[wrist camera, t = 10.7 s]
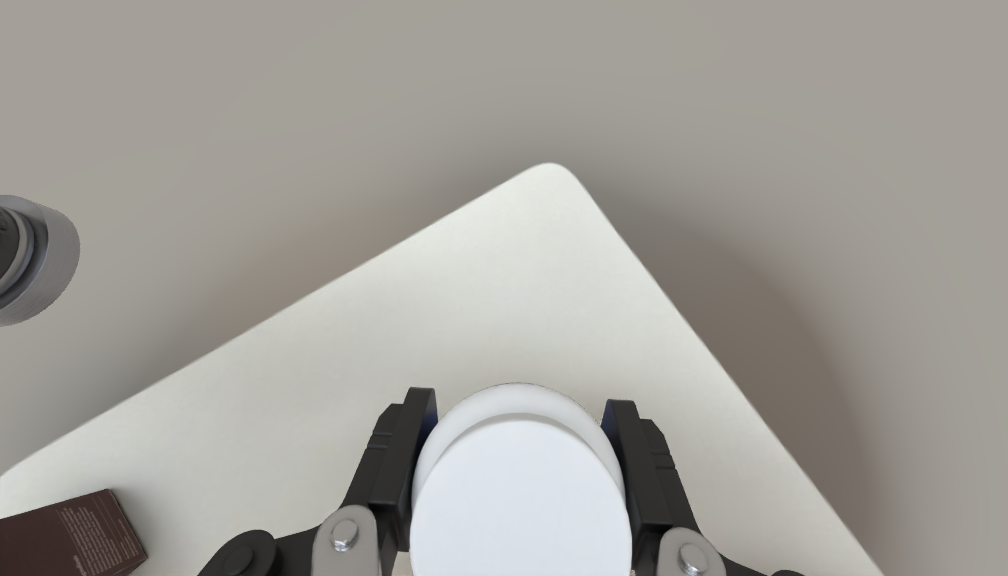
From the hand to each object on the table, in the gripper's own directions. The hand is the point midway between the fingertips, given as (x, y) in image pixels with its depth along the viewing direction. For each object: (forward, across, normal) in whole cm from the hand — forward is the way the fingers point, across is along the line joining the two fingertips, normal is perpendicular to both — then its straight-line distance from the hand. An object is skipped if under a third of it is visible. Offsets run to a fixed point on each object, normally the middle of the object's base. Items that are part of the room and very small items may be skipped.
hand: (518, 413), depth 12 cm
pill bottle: (+2, 0, +5) cm, 5 cm away
